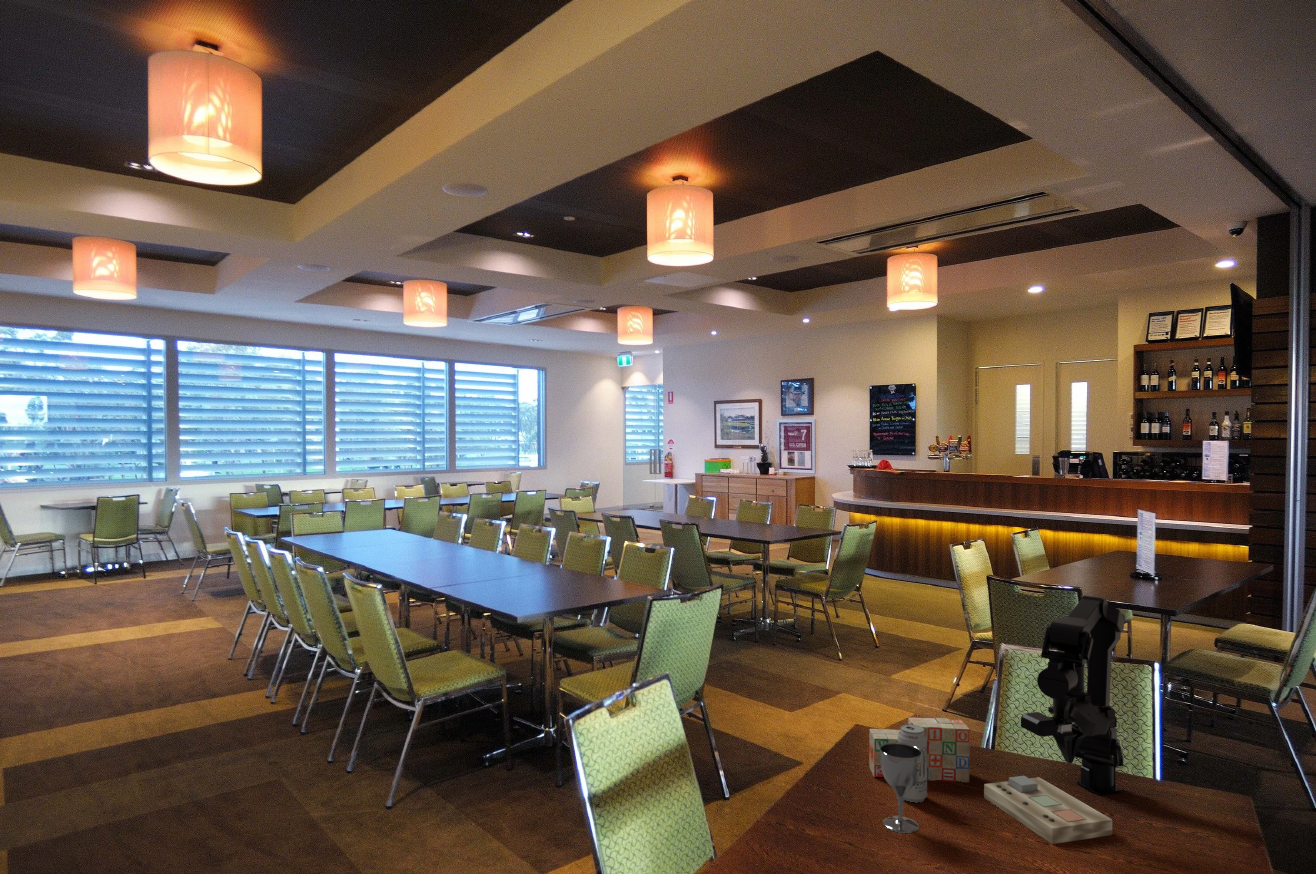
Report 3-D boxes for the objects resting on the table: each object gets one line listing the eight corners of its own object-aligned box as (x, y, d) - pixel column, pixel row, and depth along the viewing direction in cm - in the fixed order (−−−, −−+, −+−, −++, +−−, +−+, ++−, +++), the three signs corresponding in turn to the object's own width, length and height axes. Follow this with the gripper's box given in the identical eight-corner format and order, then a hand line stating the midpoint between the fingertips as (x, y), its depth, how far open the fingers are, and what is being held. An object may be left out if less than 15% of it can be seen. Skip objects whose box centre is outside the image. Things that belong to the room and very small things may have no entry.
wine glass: (882, 832, 155) (882, 756, 155) (877, 813, 163) (878, 741, 163) (924, 836, 153) (924, 759, 153) (917, 816, 161) (917, 743, 161)
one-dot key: (1046, 804, 164) (1046, 795, 164) (1060, 813, 160) (1060, 804, 160) (1030, 806, 163) (1029, 797, 163) (1043, 815, 159) (1043, 806, 159)
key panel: (1038, 790, 173) (1038, 776, 173) (1112, 835, 154) (1112, 818, 154) (984, 798, 170) (984, 783, 170) (1052, 844, 150) (1052, 827, 150)
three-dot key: (1024, 784, 171) (1024, 775, 171) (1037, 792, 167) (1037, 783, 167) (1008, 786, 170) (1008, 777, 170) (1021, 794, 166) (1021, 785, 166)
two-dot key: (1069, 819, 158) (1069, 809, 158) (1085, 828, 154) (1085, 818, 154) (1053, 821, 157) (1052, 811, 157) (1068, 831, 153) (1068, 821, 153)
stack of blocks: (873, 778, 180) (873, 725, 180) (868, 767, 186) (868, 715, 186) (970, 782, 178) (970, 728, 178) (962, 771, 184) (962, 718, 184)
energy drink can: (916, 806, 166) (916, 735, 166) (892, 796, 170) (891, 727, 171) (932, 798, 169) (932, 729, 169) (908, 789, 174) (908, 721, 174)
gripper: (1059, 703, 148) (1060, 785, 148) (1139, 693, 153) (1140, 773, 153) (1018, 685, 159) (1019, 761, 159) (1094, 676, 164) (1094, 751, 164)
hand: (1068, 762), depth 159 cm, fingers closed
